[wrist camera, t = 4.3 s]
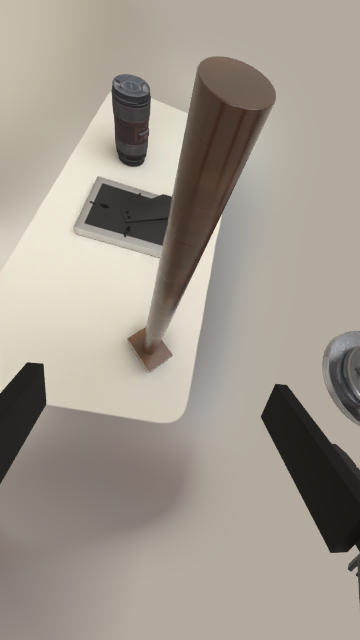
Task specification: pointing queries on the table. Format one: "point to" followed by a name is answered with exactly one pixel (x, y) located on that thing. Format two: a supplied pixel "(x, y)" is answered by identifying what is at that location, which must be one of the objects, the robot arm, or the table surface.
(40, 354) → the table surface
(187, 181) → the brown piece
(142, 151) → the camera lens
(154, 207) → the picture frame
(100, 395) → the table surface
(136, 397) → the table surface
